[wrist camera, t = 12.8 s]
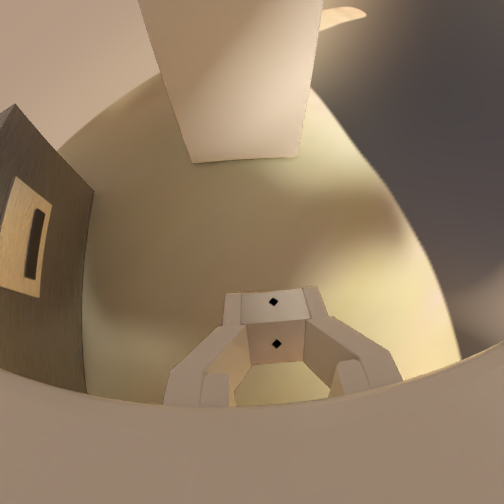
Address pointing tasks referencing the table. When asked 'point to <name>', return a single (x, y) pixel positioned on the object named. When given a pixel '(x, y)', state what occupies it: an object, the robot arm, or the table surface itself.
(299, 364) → the table surface
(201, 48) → the milk carton
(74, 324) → the grey rectangular box
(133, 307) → the table surface
